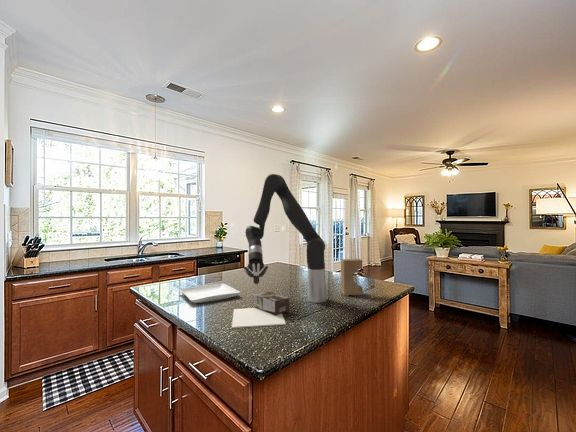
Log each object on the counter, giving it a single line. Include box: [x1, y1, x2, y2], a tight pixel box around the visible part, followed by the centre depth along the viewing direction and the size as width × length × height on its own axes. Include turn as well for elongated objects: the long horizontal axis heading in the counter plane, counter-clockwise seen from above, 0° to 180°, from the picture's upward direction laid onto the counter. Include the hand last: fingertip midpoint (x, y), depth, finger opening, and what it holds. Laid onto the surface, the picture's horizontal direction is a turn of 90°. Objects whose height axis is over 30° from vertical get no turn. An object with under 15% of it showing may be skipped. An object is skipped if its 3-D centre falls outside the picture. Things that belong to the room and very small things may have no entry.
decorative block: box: [340, 258, 364, 297], centre depth 159 cm, size 11×6×20 cm, turn 99°
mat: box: [231, 307, 287, 329], centre depth 124 cm, size 22×22×1 cm
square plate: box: [178, 283, 241, 304], centre depth 157 cm, size 27×27×4 cm
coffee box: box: [253, 291, 290, 315], centre depth 132 cm, size 9×6×16 cm
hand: (256, 283), depth 137 cm, fingers closed
